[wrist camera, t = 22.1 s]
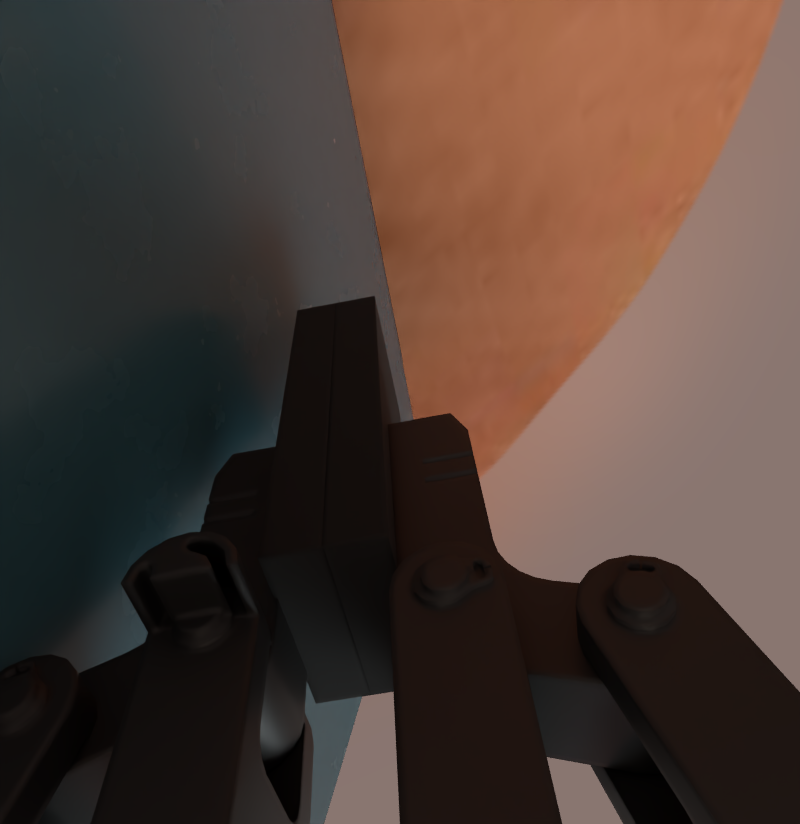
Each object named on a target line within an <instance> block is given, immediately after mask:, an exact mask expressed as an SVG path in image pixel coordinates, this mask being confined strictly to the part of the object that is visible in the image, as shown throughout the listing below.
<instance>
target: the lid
mask: <svg viewBox="0 0 800 824" xmlns="http://www.w3.org/2000/svg"><path fill="white" fill-rule="evenodd" d="M370 296H375V300H376V304H377V309H378V314H379V318H380V323H381V327H382V332H383V337H384V341H385V346H386V351H387V355H388V360H389V365H390V369H391V374H392V379H393V383H394V388H395V393H396V397H397V402H398V407H399V411H400V418H401V422H404V421H409V420H413V415H412V409H411V404H410V399H409V394H408V389H407V384H406V379H405V374H404V369H403V364H402V359H401V354H400V349H399V344H398V339H397V334H396V329H395V324H394V319H393V313H392V308H391V303H390V298H389V293H388V288H387V283H386V278H385V273H384V268H383V263H382V258H381V253H380V248H379V243H378V238H377V233H376V228H375V223H374V217H373V212H372V207H371V202H370V197H369V192H368V187H367V182H366V177H365V172H364V167H363V162H362V157H361V152H360V147H359V142H358V137H357V132H356V127H355V121H354V116H353V111H352V106H351V101H350V96H349V91H348V86H347V81H346V76H345V71H344V66H343V61H342V56H341V51H340V46H339V41H338V36H337V30H336V25H335V20H334V15H333V10H332V5H331V0H0V672H1V671H2V670H3V669H5V668H6V667H8V666H10V665H13V664H15V663H17V662H20V661H22V660H24V659H27V658H29V657H34V656H42V655H49V654H52V655H56V656H59V657H63V658H66V659H68V660H69V662H70V663H71V664H72V665H73V667H74V668H75V669H76V670H77V672H78V673H81V672H83V671H85V670H87V669H90V668H92V667H94V666H97V665H99V664H101V663H104V662H106V661H108V660H111V659H113V658H115V657H118V656H120V655H122V654H124V653H126V652H128V651H130V650H132V649H134V648H136V647H138V646H140V645H142V644H143V643H144V642H145V641H146V637H147V634H148V632H147V630H146V628H145V626H144V624H143V623H142V621H141V619H140V617H139V616H138V614H137V612H136V610H135V608H134V607H133V605H132V603H131V601H130V599H129V598H128V596H127V594H126V592H125V591H124V589H123V587H122V585H121V581H122V580H123V578H124V576H125V575H126V573H127V571H128V570H129V568H130V566H131V565H132V564H133V563H134V562H136V561H137V560H138V559H139V558H140V557H141V556H142V555H143V554H144V553H145V552H146V551H147V550H149V549H151V548H153V547H154V546H156V545H158V544H160V543H161V542H163V541H165V540H167V539H169V538H172V537H175V536H179V535H182V534H185V533H189V532H200V530H201V527H202V524H204V515H205V512H206V508H207V504H209V496H210V493H211V489H212V485H213V481H214V478H215V476H216V474H217V473H218V472H219V471H220V469H221V468H222V467H223V466H224V464H225V463H226V462H227V461H228V459H229V458H230V457H231V456H232V454H236V453H242V452H247V451H253V450H259V449H264V448H270V447H276V441H277V435H278V428H279V422H280V416H281V410H282V403H283V397H284V391H285V385H286V378H287V372H288V366H289V360H290V353H291V347H292V341H293V335H294V328H295V322H296V316H297V310H301V309H307V308H312V307H317V306H323V305H328V304H333V303H339V302H344V301H349V300H354V299H360V298H365V297H370ZM361 698H362V697H355V698H349V699H343V700H336V701H330V702H324V703H317V704H316V703H315V700H314V698H313V695H312V693H311V690H310V688H309V685H308V683H307V686H306V701H305V714H306V717H307V719H308V721H309V724H310V726H311V729H312V736H313V742H314V754H313V774H312V794H311V815H310V824H324V822H325V818H326V815H327V811H328V808H329V805H330V801H331V798H332V795H333V792H334V788H335V785H336V781H337V778H338V775H339V771H340V768H341V765H342V762H343V758H344V755H345V752H346V748H347V745H348V742H349V738H350V735H351V732H352V728H353V725H354V722H355V718H356V715H357V712H358V708H359V705H360V702H361Z"/></svg>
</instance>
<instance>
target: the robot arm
mask: <svg viewBox="0 0 800 824" xmlns="http://www.w3.org/2000/svg"><path fill="white" fill-rule="evenodd" d="M121 585H122V587H123V589H124V591H125V592H126V594H127V596H128V598H129V599H130V601H131V603H132V605H133V607H134V608H135V610H136V612H137V614H138V616H139V617H140V619H141V621H142V623H143V624H144V626H145V628H146V630H147V632H148V634H147V637H146V641H145V642H144V643H143V644H142V645H140V646H138V647H136V648H134V649H132V650H130V651H128V652H126V653H124V654H122V655H120V656H118V657H115V658H113V659H111V660H108V661H106V662H104V663H101V664H99V665H97V666H94V667H92V668H90V669H87V670H85V671H83V672H81V673H78V672H77V670H76V669H75V668H74V667H73V665H72V664H71V663H70V662H69V660H68V659H66V658H63V657H59V656H56V655H52V654H49V655H42V656H34V657H29V658H27V659H24V660H22V661H20V662H17V663H15V664H13V665H10V666H8V667H6V668H5V669H3V670H2V671H1V672H0V824H310V815H311V794H312V774H313V754H314V742H313V736H312V729H311V726H310V724H309V721H308V719H307V717H306V714H305V701H306V686H307V683H308V685H309V688H310V690H311V693H312V695H313V698H314V700H315V703H316V704H317V703H324V702H330V701H336V700H343V699H349V698H355V697H362V696H368V695H374V694H381V693H387V692H393V691H394V709H395V730H396V750H397V771H398V792H399V811H400V812H399V813H400V824H562V821H561V817H560V812H559V808H558V804H557V800H556V795H555V792H554V787H553V783H552V779H551V774H550V770H549V766H548V761H547V757H550V758H556V759H561V760H567V761H573V762H578V763H583V764H589V765H591V767H592V768H593V770H594V772H595V774H596V776H597V777H598V779H599V781H600V783H601V785H602V787H603V788H604V790H605V792H606V794H607V795H608V797H609V799H610V800H611V802H612V804H613V806H614V808H615V810H616V811H617V813H618V815H619V817H620V819H621V820H622V822H623V824H800V692H799V691H798V690H797V689H796V688H795V686H794V685H793V684H792V683H791V682H790V681H789V680H788V679H787V678H786V677H785V676H784V674H783V673H782V672H781V671H780V670H779V669H778V668H777V667H776V666H775V665H774V664H773V662H772V661H771V660H770V659H769V658H768V657H767V656H766V655H765V654H764V653H763V652H762V651H761V650H760V648H759V647H758V646H757V645H756V644H755V643H754V642H753V641H752V640H751V638H749V636H748V635H747V634H746V633H745V632H744V631H743V630H742V629H741V628H740V627H739V625H738V624H737V623H736V622H735V621H734V620H733V619H732V618H731V617H730V616H729V614H728V613H727V612H726V611H725V610H724V609H723V608H722V607H721V606H720V605H719V604H718V602H717V601H716V600H715V599H714V598H713V597H712V596H711V595H710V594H709V593H708V592H707V590H706V589H705V588H704V587H703V586H702V585H701V584H700V583H699V582H698V581H697V580H696V579H695V578H693V577H692V576H691V575H689V574H688V573H687V572H686V571H684V570H683V569H682V568H680V567H679V566H677V565H674V564H672V563H669V562H666V561H663V560H661V559H658V558H656V557H645V556H634V555H629V556H624V557H619V558H614V559H609V560H606V561H604V562H603V563H601V564H599V565H598V566H596V567H594V568H593V569H591V570H589V571H588V573H587V574H586V575H585V577H584V578H583V580H582V581H581V582H580V583H571V582H561V581H551V580H546V579H541V578H535V577H532V576H530V575H528V574H525V573H523V572H520V571H518V570H517V569H516V568H514V567H513V566H511V565H510V564H508V563H507V562H506V561H505V560H504V558H503V557H502V556H501V555H500V554H499V553H498V551H497V548H496V546H495V544H494V541H493V537H492V533H491V529H490V525H489V521H488V516H487V512H486V508H485V503H484V498H483V494H482V490H481V486H480V481H479V477H478V474H477V468H476V464H475V460H474V456H473V451H472V447H471V442H470V438H469V434H468V430H467V429H466V428H465V427H464V426H463V425H462V424H461V423H460V422H459V421H458V420H457V419H456V418H455V417H454V416H453V415H451V414H450V413H449V414H443V415H437V416H432V417H426V418H420V419H415V420H409V421H404V422H401V418H400V411H399V407H398V402H397V397H396V393H395V388H394V383H393V379H392V374H391V369H390V365H389V360H388V355H387V351H386V346H385V341H384V337H383V332H382V327H381V323H380V318H379V314H378V309H377V304H376V300H375V296H370V297H365V298H360V299H354V300H349V301H344V302H339V303H333V304H328V305H323V306H317V307H312V308H307V309H301V310H297V316H296V322H295V328H294V335H293V341H292V347H291V353H290V360H289V366H288V372H287V378H286V385H285V391H284V397H283V403H282V410H281V416H280V422H279V428H278V435H277V441H276V447H270V448H264V449H259V450H253V451H247V452H242V453H236V454H232V456H231V457H230V458H229V459H228V461H227V462H226V463H225V464H224V466H223V467H222V468H221V469H220V471H219V472H218V473H217V474H216V476H215V478H214V481H213V485H212V489H211V493H210V496H209V504H207V508H206V512H205V515H204V524H202V527H201V530H200V532H189V533H185V534H182V535H179V536H175V537H172V538H169V539H167V540H165V541H163V542H161V543H160V544H158V545H156V546H154V547H153V548H151V549H149V550H147V551H146V552H145V553H144V554H143V555H142V556H141V557H140V558H139V559H138V560H137V561H136V562H134V563H133V564H132V565H131V566H130V568H129V570H128V571H127V573H126V575H125V576H124V578H123V580H122V581H121Z"/></svg>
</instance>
